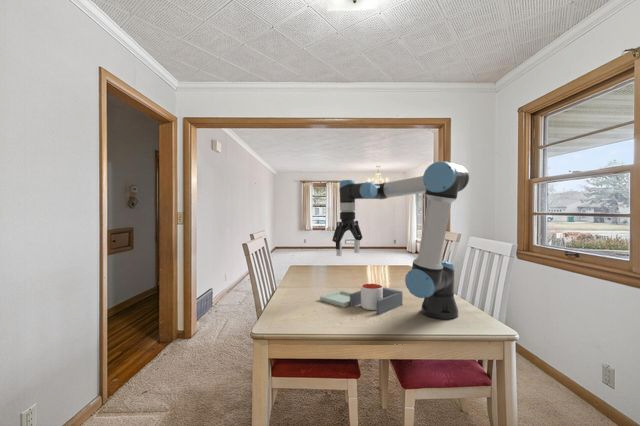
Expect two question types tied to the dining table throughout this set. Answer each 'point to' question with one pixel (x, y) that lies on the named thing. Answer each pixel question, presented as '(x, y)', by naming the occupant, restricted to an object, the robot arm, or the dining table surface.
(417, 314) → the dining table surface
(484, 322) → the dining table surface
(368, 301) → the cup
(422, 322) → the dining table surface
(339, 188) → the robot arm
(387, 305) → the bay
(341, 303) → the tray
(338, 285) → the dining table surface
